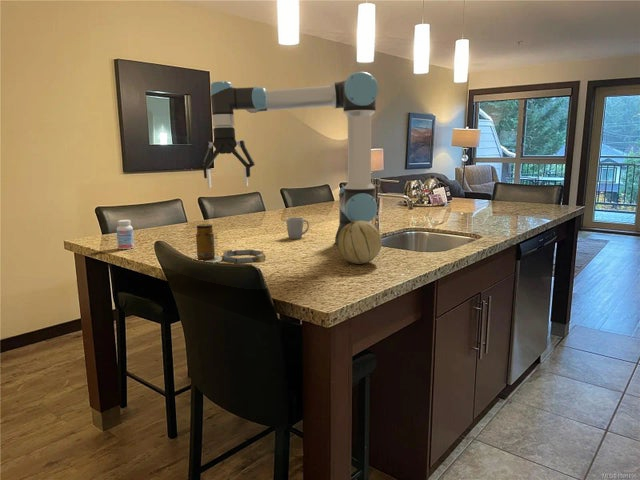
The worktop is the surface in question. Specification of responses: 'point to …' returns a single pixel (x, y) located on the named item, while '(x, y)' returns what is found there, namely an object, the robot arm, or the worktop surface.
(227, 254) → the collar
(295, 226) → the cup
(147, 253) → the worktop surface
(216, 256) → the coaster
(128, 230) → the pill bottle
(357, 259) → the cantaloupe
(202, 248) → the condiment
